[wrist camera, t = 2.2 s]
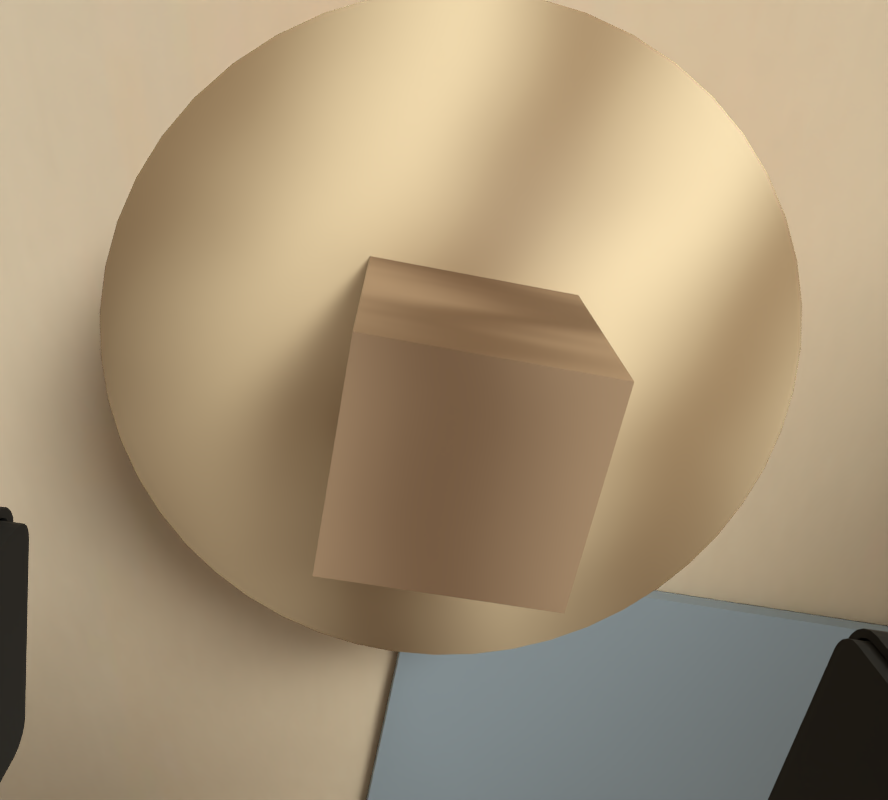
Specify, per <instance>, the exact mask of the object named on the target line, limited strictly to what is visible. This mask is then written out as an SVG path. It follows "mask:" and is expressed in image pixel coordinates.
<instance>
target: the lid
mask: <svg viewBox="0 0 888 800" xmlns="http://www.w3.org/2000/svg"><path fill="white" fill-rule="evenodd" d="M801 317H802V302H801V293H800V284H799V275H798V265H797V259H796V255H795V251H794V247H793V244H792V240H791V236H790V232H789V228H788V224H787V220H786V217H785V214H784V212H783V210H782V207H781V205H780V202H779V200H778V198H777V195H776V193H775V190H774V188H773V186H772V183H771V181H770V178H769V176H768V174H767V172H766V171H765V169H764V167H763V166H762V164H761V162H760V161H759V159H758V157H757V156H756V154H755V152H754V151H753V149H752V147H751V146H750V144H749V142H748V141H747V139H746V137H745V136H744V134H743V133H742V132H741V130H740V129H739V128H738V127H737V126H736V124H735V123H734V122H733V121H732V120H731V118H730V117H729V116H728V115H727V113H726V112H725V111H724V110H723V109H722V107H721V106H720V105H719V104H718V103H717V101H716V100H715V99H714V98H713V96H711V95H710V94H709V93H708V92H707V91H706V90H705V89H704V88H703V87H701V86H700V85H699V84H698V83H697V82H696V81H695V80H694V79H693V78H691V77H690V76H689V75H688V74H687V73H686V72H685V71H684V70H683V69H681V68H680V67H679V66H678V65H677V64H676V63H675V62H673V61H672V60H670V59H669V58H667V57H666V56H664V55H663V54H661V53H659V52H658V51H656V50H655V49H653V48H652V47H650V46H649V45H647V44H646V43H644V42H643V41H641V40H640V39H638V38H637V37H635V36H634V35H632V34H630V33H628V32H626V31H624V30H621V29H619V28H617V27H615V26H613V25H611V24H609V23H606V22H604V21H602V20H600V19H598V18H596V17H594V16H592V15H589V14H587V13H585V12H581V11H578V10H575V9H571V8H568V7H565V6H561V5H558V4H555V3H551V2H548V1H545V0H366V1H363V2H359V3H356V4H353V5H349V6H346V7H343V8H339V9H336V10H333V11H329V12H326V13H323V14H321V15H319V16H317V17H315V18H312V19H310V20H308V21H306V22H304V23H302V24H299V25H297V26H295V27H293V28H291V29H289V30H287V31H284V32H282V33H280V34H278V35H276V36H274V37H273V38H271V39H270V40H268V41H267V42H265V43H264V44H262V45H261V46H259V47H258V48H256V49H255V50H253V51H251V52H250V53H248V54H247V55H245V56H244V57H242V58H241V59H239V60H238V61H236V62H235V63H233V64H232V65H231V66H230V67H228V68H227V69H226V70H225V71H224V72H223V73H222V74H221V75H219V76H218V77H217V78H216V79H215V80H214V81H213V82H212V83H210V84H209V85H208V86H207V87H206V88H205V89H204V90H203V91H201V92H200V93H199V94H198V95H197V96H196V97H195V98H194V99H193V100H192V101H191V102H190V104H189V105H188V106H187V107H186V108H185V109H184V111H183V112H182V113H181V114H180V115H179V117H178V118H177V119H176V120H175V121H174V123H173V124H172V125H171V126H170V127H169V128H168V130H167V131H166V132H165V133H164V134H163V136H162V137H161V139H160V140H159V142H158V143H157V145H156V147H155V148H154V150H153V152H152V153H151V155H150V156H149V158H148V160H147V161H146V163H145V165H144V166H143V168H142V169H141V171H140V173H139V174H138V176H137V177H136V180H135V182H134V184H133V187H132V189H131V191H130V194H129V196H128V198H127V200H126V203H125V205H124V207H123V210H122V212H121V214H120V217H119V219H118V221H117V225H116V229H115V232H114V236H113V240H112V243H111V247H110V251H109V255H108V258H107V262H106V266H105V273H104V282H103V290H102V298H101V307H100V336H101V359H102V365H103V371H104V377H105V384H106V390H107V396H108V400H109V404H110V407H111V410H112V413H113V417H114V420H115V423H116V426H117V430H118V433H119V436H120V439H121V442H122V444H123V446H124V448H125V450H126V452H127V455H128V457H129V459H130V461H131V463H132V465H133V468H134V470H135V472H136V474H137V476H138V478H139V480H140V481H141V483H142V485H143V486H144V488H145V489H146V491H147V493H148V494H149V496H150V497H151V499H152V500H153V502H154V504H155V505H156V507H157V508H158V510H159V512H160V513H161V514H162V515H163V517H164V518H165V519H166V520H167V522H168V523H169V524H170V525H171V526H172V528H173V529H174V530H175V531H176V533H177V534H178V535H179V536H180V537H181V539H182V540H183V541H184V542H185V543H186V545H187V546H189V547H190V548H191V549H192V550H193V551H194V552H195V553H196V554H197V555H198V556H199V557H200V558H201V559H202V560H203V561H204V562H205V563H206V564H207V565H208V566H210V567H211V568H212V569H213V570H214V571H215V572H216V573H217V574H219V575H220V576H221V577H223V578H224V579H225V580H227V581H228V582H229V583H231V584H232V585H233V586H235V587H236V588H237V589H239V590H240V591H241V592H243V593H244V594H245V595H247V596H248V597H250V598H252V599H253V600H255V601H257V602H259V603H260V604H262V605H264V606H265V607H267V608H269V609H271V610H272V611H274V612H276V613H277V614H279V615H281V616H283V617H285V618H287V619H290V620H292V621H294V622H297V623H299V624H301V625H303V626H306V627H308V628H310V629H313V630H315V631H317V632H320V633H323V634H326V635H329V636H333V637H336V638H339V639H342V640H345V641H349V642H352V643H355V644H360V645H365V646H370V647H375V648H380V649H385V650H390V651H396V652H408V653H419V654H431V655H447V654H477V653H485V652H493V651H501V650H509V649H514V648H519V647H523V646H527V645H531V644H536V643H540V642H544V641H548V640H552V639H555V638H558V637H560V636H563V635H566V634H569V633H572V632H575V631H577V630H580V629H583V628H586V627H588V626H591V625H593V624H595V623H597V622H599V621H601V620H603V619H605V618H607V617H609V616H611V615H614V614H616V613H618V612H620V611H622V610H624V609H625V608H627V607H629V606H630V605H632V604H634V603H635V602H637V601H638V600H640V599H642V598H643V597H645V596H646V595H648V594H650V593H651V592H653V591H654V590H656V589H658V588H659V587H660V586H661V585H663V584H664V583H665V582H666V581H668V580H669V579H670V578H672V577H673V576H674V575H675V574H677V573H678V572H679V571H680V570H682V569H683V568H684V567H685V566H687V565H688V564H689V563H690V562H691V561H692V560H693V559H694V558H695V557H696V556H697V555H698V554H699V553H700V552H701V551H702V550H703V549H704V548H705V547H706V546H707V545H708V544H709V543H710V542H711V541H712V540H713V539H714V538H715V537H716V536H717V535H718V534H719V533H720V531H721V530H722V529H723V528H724V526H725V525H726V524H727V523H728V521H729V520H730V519H731V518H732V516H733V515H734V514H735V513H736V511H737V510H738V509H739V508H740V506H741V505H742V504H743V502H744V501H745V499H746V497H747V496H748V494H749V492H750V491H751V489H752V488H753V486H754V484H755V483H756V481H757V479H758V478H759V476H760V474H761V473H762V471H763V470H764V468H765V465H766V463H767V461H768V459H769V457H770V454H771V452H772V450H773V448H774V446H775V443H776V441H777V439H778V437H779V435H780V432H781V430H782V427H783V423H784V420H785V417H786V414H787V410H788V407H789V404H790V401H791V397H792V394H793V391H794V385H795V379H796V373H797V367H798V361H799V355H800V349H801Z"/></svg>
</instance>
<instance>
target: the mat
mask: <svg viewBox="0 0 888 800" xmlns="http://www.w3.org/2000/svg"><path fill="white" fill-rule="evenodd" d="M863 628H865V629H872V630H879V631H886V632H888V626H883V625H876V624H870V623H863V622H857V621H850V620H844V619H837V618H830V617H824V616H817V615H811V614H804V613H798V612H791V611H785V610H778V609H772V608H765V607H759V606H752V605H746V604H739V603H733V602H726V601H720V600H713V599H707V598H700V597H694V596H687V595H681V594H674V593H668V592H661V591H655V590H654V591H653V592H651V593H650V594H648V595H646V596H645V597H643V598H642V599H640V600H638V601H637V602H635V603H634V604H632V605H630V606H629V607H627V608H625V609H624V610H622V611H620V612H618V613H616V614H614V615H611V616H609V617H607V618H605V619H603V620H601V621H599V622H597V623H595V624H593V625H591V626H588V627H586V628H583V629H580V630H577V631H575V632H572V633H569V634H566V635H563V636H560V637H558V638H555V639H552V640H548V641H544V642H540V643H536V644H531V645H527V646H523V647H519V648H514V649H509V650H501V651H493V652H485V653H477V654H447V655H431V654H419V653H408V652H398V656H397V661H396V665H395V670H394V675H393V679H392V684H391V688H390V693H389V698H388V702H387V707H386V711H385V716H384V721H383V725H382V730H381V734H380V739H379V744H378V748H377V753H376V757H375V762H374V767H373V771H372V776H371V780H370V785H369V790H368V794H367V799H366V800H768V798H769V796H770V793H771V791H772V789H773V787H774V784H775V782H776V780H777V778H778V775H779V773H780V771H781V769H782V766H783V764H784V762H785V759H786V757H787V755H788V753H789V750H790V748H791V746H792V744H793V741H794V739H795V737H796V735H797V732H798V730H799V728H800V725H801V723H802V721H803V719H804V716H805V714H806V712H807V710H808V707H809V705H810V703H811V701H812V698H813V696H814V694H815V691H816V689H817V687H818V685H819V682H820V680H821V678H822V676H823V673H824V671H825V669H826V667H827V664H828V662H829V660H830V657H831V655H832V653H833V651H834V648H835V647H836V645H837V644H838V642H840V641H841V640H842V639H847V638H849V637H850V635H851V634H852V633H853V632H855V631H856V630H858V629H863Z"/></svg>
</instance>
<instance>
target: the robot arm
mask: <svg viewBox="0 0 888 800" xmlns="http://www.w3.org/2000/svg"><path fill="white" fill-rule="evenodd" d="M28 552H29V533H28V528H27V526H26V525H25V524H22V523H15V522H13V516H12V513H11V511H10V510H9V509H8V508H6V507H0V782H1V780H2V778H3V776H4V774H5V773H6V771H7V769H8V767H9V765H10V763H11V762H12V760H13V758H14V756H15V754H16V752H17V749H18V746H19V744H20V741H21V737H22V734H23V729H24V722H25V689H26V644H27V598H28ZM768 800H888V632H886V631H879V630H872V629H865V628H863V629H858V630H856V631H855V632H853V633H852V634H851V635H850V637H849V638H847V639H842V640H841V641H840V642H838V644H837V645H836V647H835V648H834V651H833V653H832V655H831V657H830V660H829V662H828V664H827V667H826V669H825V671H824V673H823V676H822V678H821V680H820V682H819V685H818V687H817V689H816V691H815V694H814V696H813V698H812V701H811V703H810V705H809V707H808V710H807V712H806V714H805V716H804V719H803V721H802V723H801V725H800V728H799V730H798V732H797V735H796V737H795V739H794V741H793V744H792V746H791V748H790V750H789V753H788V755H787V757H786V759H785V762H784V764H783V766H782V769H781V771H780V773H779V775H778V778H777V780H776V782H775V784H774V787H773V789H772V791H771V793H770V796H769V798H768Z"/></svg>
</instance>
